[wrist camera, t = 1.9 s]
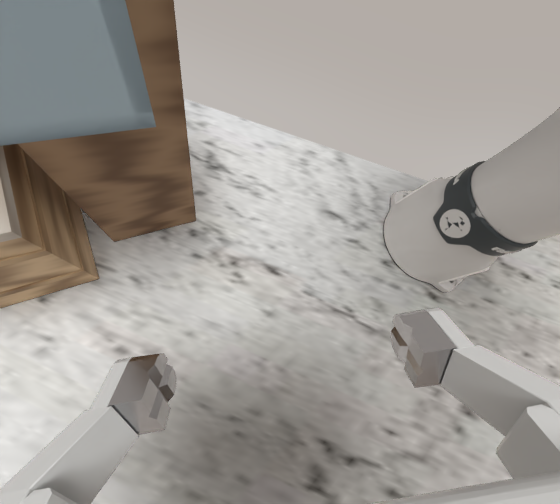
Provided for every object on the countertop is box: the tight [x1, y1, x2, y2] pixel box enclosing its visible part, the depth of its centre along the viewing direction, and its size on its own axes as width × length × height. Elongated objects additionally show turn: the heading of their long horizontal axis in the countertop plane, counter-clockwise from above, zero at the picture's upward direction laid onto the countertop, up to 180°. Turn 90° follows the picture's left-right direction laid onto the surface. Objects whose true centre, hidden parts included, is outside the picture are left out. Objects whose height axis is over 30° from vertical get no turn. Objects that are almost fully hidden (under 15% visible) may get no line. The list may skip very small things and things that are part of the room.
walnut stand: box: [18, 0, 196, 242], centre depth 22 cm, size 10×13×26 cm
